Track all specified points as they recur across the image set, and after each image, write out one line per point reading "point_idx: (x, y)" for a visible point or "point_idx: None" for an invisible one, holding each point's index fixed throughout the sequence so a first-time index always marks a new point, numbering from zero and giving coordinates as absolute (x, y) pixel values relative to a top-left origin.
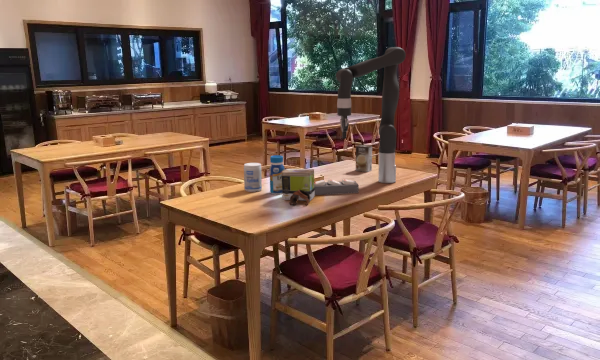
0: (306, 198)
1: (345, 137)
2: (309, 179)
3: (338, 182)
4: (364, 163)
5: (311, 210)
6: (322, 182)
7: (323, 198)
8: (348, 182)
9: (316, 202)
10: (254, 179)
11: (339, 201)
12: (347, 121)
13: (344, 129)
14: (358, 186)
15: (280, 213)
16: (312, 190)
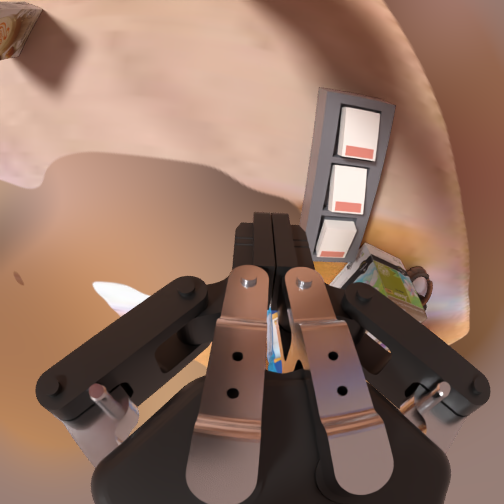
0: (429, 281)
1: (300, 232)
2: (420, 303)
3: (344, 171)
4: (14, 23)
5: (453, 265)
6: (353, 236)
7: (392, 223)
8: (375, 140)
9: (414, 247)
10: (265, 369)
11: (436, 193)
12: (375, 441)
13: (362, 335)
14: (392, 104)
15: (432, 310)
16: (392, 266)
